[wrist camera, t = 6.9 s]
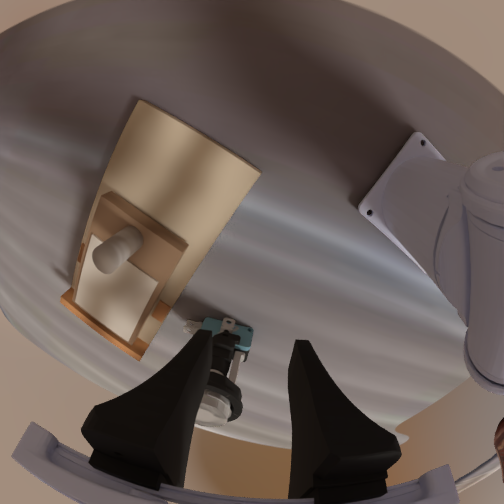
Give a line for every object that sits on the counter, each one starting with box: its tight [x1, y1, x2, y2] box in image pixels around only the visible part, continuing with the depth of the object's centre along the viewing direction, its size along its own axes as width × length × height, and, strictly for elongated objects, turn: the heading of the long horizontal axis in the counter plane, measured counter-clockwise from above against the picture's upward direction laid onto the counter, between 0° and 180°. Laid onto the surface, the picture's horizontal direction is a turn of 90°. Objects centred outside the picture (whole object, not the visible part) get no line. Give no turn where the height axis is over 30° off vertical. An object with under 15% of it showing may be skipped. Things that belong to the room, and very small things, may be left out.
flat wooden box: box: [60, 100, 262, 361], centre depth 21 cm, size 11×22×3 cm, turn 146°
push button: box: [184, 317, 253, 427], centre depth 21 cm, size 7×5×10 cm
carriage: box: [72, 191, 189, 346], centre depth 20 cm, size 8×13×6 cm, turn 146°
